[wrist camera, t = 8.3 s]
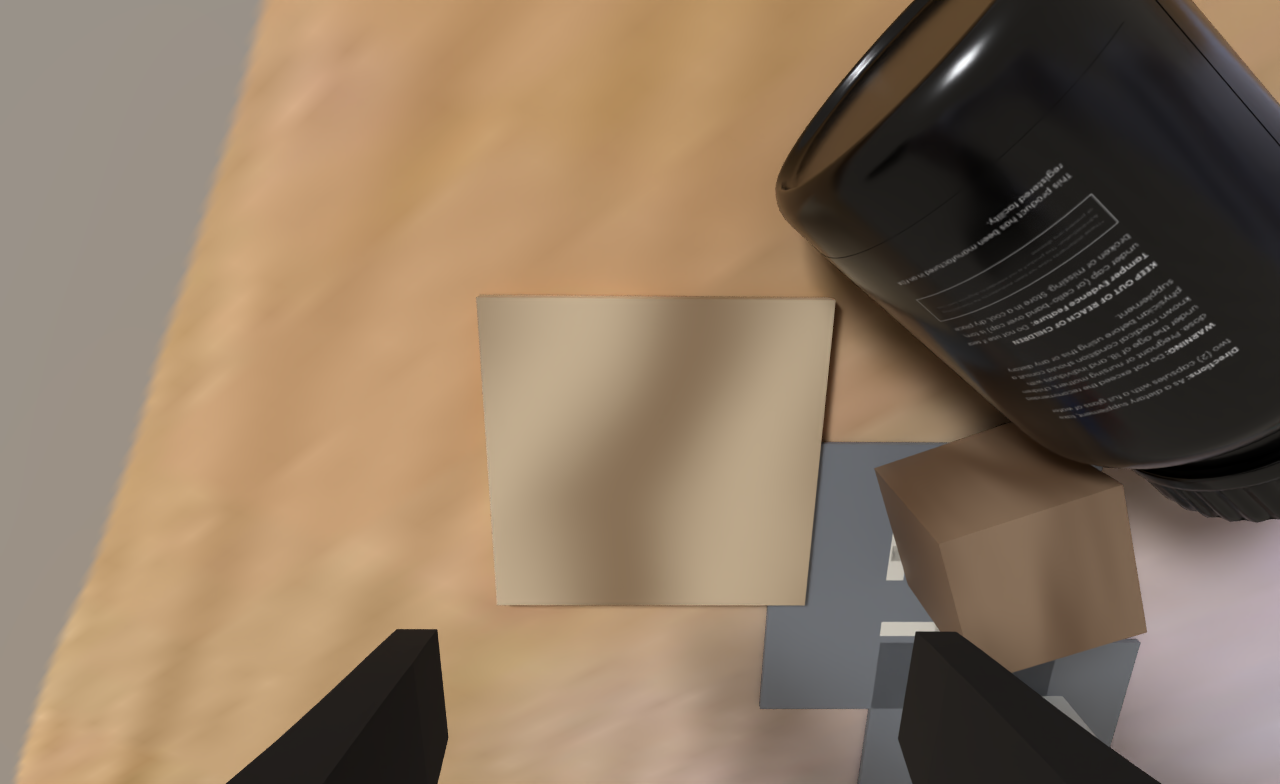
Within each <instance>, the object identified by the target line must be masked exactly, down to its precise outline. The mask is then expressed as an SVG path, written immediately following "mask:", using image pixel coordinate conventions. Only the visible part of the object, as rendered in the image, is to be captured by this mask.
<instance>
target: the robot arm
mask: <svg viewBox="0 0 1280 784" xmlns="http://www.w3.org/2000/svg"><path fill="white" fill-rule="evenodd" d="M447 741H448V729H447V719H446V710H445V700H444V690H443V681H442V671H441V661H440V651H439V642H438V632H437V629H397V630H395V631H394V632H393V633H392V634H391V635H390V636H389V637H388V638H387V639H386V640H385V641H383V642H382V643H381V644H380V645H379V646H378V647H377V648H376V649H375V650H374V651H373V652H372V653H371V654H369V655H368V656H367V657H366V658H365V659H364V660H363V661H362V662H361V663H360V664H359V665H358V666H357V667H356V668H355V669H354V670H353V671H352V672H350V673H349V674H348V675H347V676H346V677H345V678H344V679H343V680H342V681H341V682H340V683H339V684H338V685H337V686H336V687H335V688H334V689H332V690H331V691H330V692H329V693H328V694H327V695H326V696H325V697H324V698H323V699H322V700H321V701H320V702H319V703H317V704H316V705H315V706H314V707H313V708H312V709H311V710H310V711H309V712H308V713H306V714H305V715H304V716H303V717H302V718H301V719H300V720H299V721H298V722H297V723H296V724H294V725H293V726H292V727H291V728H290V729H289V730H288V731H287V732H286V733H285V734H283V735H282V736H281V737H280V738H279V739H278V740H277V741H276V742H274V743H273V744H272V745H271V746H270V747H269V748H267V749H266V750H265V751H264V752H263V753H261V754H260V755H259V756H258V757H257V758H256V759H254V760H253V761H252V762H251V763H250V764H248V765H247V766H246V767H245V768H244V769H243V770H241V771H240V772H239V773H238V774H237V775H235V776H234V777H233V778H232V779H231V780H230V781H228V782H227V783H226V784H437V783H438V779H439V775H440V771H441V767H442V762H443V758H444V754H445V750H446V745H447ZM898 741H899V744H900V747H901V750H902V753H903V757H904V760H905V763H906V766H907V769H908V772H909V775H910V778H911V781H912V784H1161V783H1159V782H1158V781H1157V780H1155V779H1154V778H1152V777H1151V776H1149V775H1148V774H1146V773H1145V772H1144V771H1142V770H1141V769H1139V768H1138V767H1136V766H1135V765H1134V764H1132V763H1131V762H1129V761H1128V760H1127V759H1125V758H1124V757H1122V756H1121V755H1120V754H1118V753H1117V752H1116V751H1114V750H1113V749H1111V748H1110V747H1109V746H1107V745H1106V744H1105V743H1103V742H1102V741H1100V740H1099V739H1098V738H1096V737H1095V736H1094V735H1092V734H1091V733H1090V732H1088V731H1087V730H1086V729H1084V728H1083V727H1082V726H1080V725H1079V724H1078V723H1076V722H1075V721H1074V720H1072V719H1071V718H1070V717H1068V716H1067V715H1066V714H1064V713H1063V712H1062V711H1060V710H1059V709H1058V708H1056V707H1055V706H1054V705H1053V704H1051V703H1050V702H1049V701H1047V700H1046V699H1045V698H1043V697H1042V696H1041V695H1039V694H1038V693H1037V692H1036V691H1034V690H1033V689H1032V688H1030V687H1029V686H1028V685H1027V684H1025V683H1024V682H1023V681H1021V680H1020V679H1019V678H1017V677H1016V676H1015V675H1014V674H1012V673H1011V672H1010V671H1008V670H1007V669H1006V668H1005V667H1003V666H1002V665H1001V664H999V663H998V662H997V661H995V660H994V659H993V658H991V657H990V656H989V655H988V654H986V653H985V652H984V651H982V650H981V649H980V648H978V647H977V646H976V645H974V644H973V643H971V642H970V641H969V640H967V639H966V638H964V637H963V636H962V635H960V634H959V633H957V632H938V631H916V632H915V638H914V644H913V650H912V656H911V662H910V668H909V674H908V680H907V686H906V692H905V698H904V704H903V710H902V716H901V722H900V728H899V734H898Z"/></svg>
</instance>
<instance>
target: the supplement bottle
mask: <svg viewBox="0 0 1280 784" xmlns="http://www.w3.org/2000/svg"><path fill="white" fill-rule="evenodd" d="M775 190H776V200H777V204H778V207H779V210H780V212H781V213H782V215H783V217H784V218H785V220H786V221H787V222H788V223H789V224H790V225H791V226H792V227H793V228H794V229H795V230H796V231H797V232H798V233H800V234H801V235H802V236H803V237H804V238H805V239H806V240H807V241H808V242H809V243H811V244H812V245H813V246H814V247H815V248H816V249H817V250H818V251H820V252H821V254H822V255H823V256H824V257H826V258H827V259H828V260H829V261H830V262H831V263H832V264H834V265H835V266H836V267H837V268H838V269H839V270H840V271H841V272H843V273H844V274H845V275H846V276H847V277H848V278H849V279H850V280H852V281H853V282H854V283H855V284H856V285H857V286H858V287H860V288H861V289H862V290H863V291H864V292H865V293H866V294H867V295H869V296H870V297H871V298H872V299H873V300H874V301H875V302H877V303H878V304H879V305H880V306H881V307H882V308H883V309H884V310H886V311H887V312H888V313H889V314H890V315H891V316H892V317H893V318H895V319H896V320H897V321H898V322H899V323H900V324H901V325H903V326H904V327H905V328H906V329H907V330H908V331H909V332H910V333H912V334H913V335H914V336H915V337H916V338H917V339H918V340H920V341H921V342H922V343H923V344H924V345H925V346H926V347H927V348H929V349H930V350H931V351H932V352H933V353H934V354H935V355H936V356H938V357H939V358H940V359H941V360H942V361H943V362H944V363H946V364H947V365H948V366H949V367H950V368H951V369H952V370H953V371H955V372H956V373H957V374H958V375H959V376H960V377H961V378H963V379H964V380H965V381H966V382H967V383H968V384H969V385H970V386H972V387H973V388H974V389H975V390H976V391H977V392H978V393H979V394H981V395H982V396H983V397H984V398H985V399H986V400H987V401H989V402H990V403H991V404H992V405H993V406H994V407H995V408H996V409H998V410H999V411H1000V412H1001V413H1002V414H1003V415H1004V416H1006V417H1007V418H1008V419H1009V420H1010V421H1011V422H1012V423H1013V424H1015V425H1016V426H1017V427H1018V428H1019V429H1020V430H1022V431H1023V432H1024V433H1025V434H1027V435H1028V436H1029V437H1031V438H1032V439H1033V440H1034V441H1036V442H1037V443H1038V444H1040V445H1041V446H1043V447H1044V448H1046V449H1048V450H1050V451H1051V452H1053V453H1055V454H1058V455H1060V456H1063V457H1065V458H1067V459H1071V460H1074V461H1078V462H1081V463H1085V464H1090V465H1095V466H1101V467H1108V468H1118V469H1131V470H1132V471H1134V472H1135V473H1137V474H1138V475H1140V476H1141V477H1143V478H1145V479H1146V480H1147V481H1148V482H1150V483H1151V484H1152V485H1153V486H1154V487H1155V488H1156V489H1157V490H1158V491H1159V492H1161V493H1162V494H1163V495H1164V496H1165V497H1167V498H1168V499H1170V500H1172V501H1175V502H1177V503H1178V504H1179V505H1180V506H1181V507H1183V508H1184V509H1186V510H1190V511H1198V512H1199V513H1201V514H1202V515H1204V516H1205V517H1221V518H1223V519H1225V520H1227V521H1230V522H1232V521H1240V520H1247V521H1251V522H1262V521H1265V520H1268V519H1280V104H1279V103H1278V102H1277V101H1276V100H1275V98H1274V97H1273V96H1272V95H1271V94H1270V92H1269V91H1268V90H1267V89H1266V88H1265V86H1264V85H1263V84H1262V83H1261V82H1260V80H1259V79H1258V78H1257V77H1256V76H1255V75H1254V73H1253V72H1252V71H1251V70H1250V69H1249V67H1248V66H1247V65H1246V64H1245V63H1244V61H1243V60H1242V59H1241V58H1240V57H1239V56H1238V54H1237V53H1236V52H1235V51H1234V50H1233V48H1232V47H1231V46H1230V45H1229V44H1228V42H1227V41H1226V40H1225V39H1224V38H1223V36H1222V35H1221V34H1220V33H1219V32H1218V31H1217V29H1216V28H1215V27H1214V26H1213V25H1212V23H1211V22H1210V21H1209V20H1208V19H1207V17H1206V16H1205V15H1204V14H1203V13H1202V11H1201V10H1200V9H1199V8H1198V7H1197V6H1196V4H1195V3H1194V2H1193V1H1192V0H914V1H913V2H912V3H911V4H910V5H909V6H908V7H907V8H906V9H905V10H904V11H903V12H902V13H901V14H900V16H899V17H898V18H897V19H896V20H895V21H894V22H893V23H892V24H891V25H890V26H889V27H888V28H887V30H886V31H885V32H884V33H883V34H882V35H881V36H880V37H879V38H878V39H877V41H876V42H875V43H874V44H873V45H872V46H871V47H870V49H869V50H868V51H867V52H866V53H865V54H864V55H863V56H862V58H861V59H860V60H859V61H858V62H857V64H856V65H855V66H854V67H853V68H852V69H851V71H850V72H849V73H848V74H847V75H846V77H845V78H844V79H843V80H842V81H841V83H840V84H839V85H838V86H837V88H836V89H835V90H834V91H833V93H832V94H831V95H830V96H829V98H828V99H827V100H826V102H825V103H824V104H823V105H822V107H821V108H820V109H819V111H818V112H817V113H816V115H815V116H814V117H813V119H812V120H811V122H810V123H809V124H808V126H807V127H806V129H805V130H804V131H803V133H802V134H801V136H800V137H799V139H798V140H797V142H796V144H795V145H794V147H793V148H792V150H791V152H790V153H789V155H788V157H787V158H786V160H785V162H784V164H783V166H782V168H781V170H780V173H779V175H778V179H777V182H776V188H775Z"/></svg>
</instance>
